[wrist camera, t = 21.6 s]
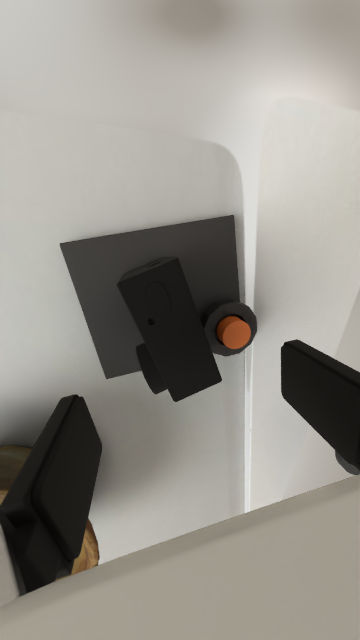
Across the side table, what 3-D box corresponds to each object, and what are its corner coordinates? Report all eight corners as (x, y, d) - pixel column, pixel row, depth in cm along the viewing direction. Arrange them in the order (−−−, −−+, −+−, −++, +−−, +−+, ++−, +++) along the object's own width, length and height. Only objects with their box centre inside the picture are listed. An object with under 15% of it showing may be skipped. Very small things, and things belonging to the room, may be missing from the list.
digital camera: (110, 276, 19) (95, 289, 12) (164, 255, 19) (177, 255, 13) (154, 365, 23) (161, 410, 16) (198, 345, 23) (223, 381, 16)
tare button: (241, 313, 21) (250, 317, 20) (243, 338, 22) (251, 345, 21) (214, 319, 21) (221, 324, 19) (217, 344, 22) (224, 352, 20)
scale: (236, 215, 21) (252, 209, 18) (244, 338, 26) (257, 349, 23) (64, 244, 19) (51, 242, 16) (107, 372, 23) (103, 388, 21)
